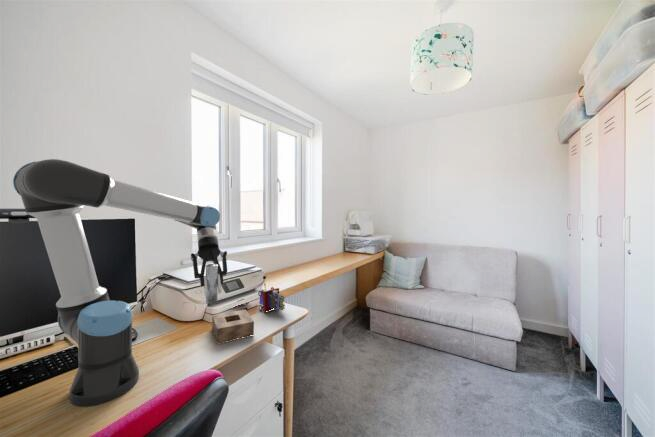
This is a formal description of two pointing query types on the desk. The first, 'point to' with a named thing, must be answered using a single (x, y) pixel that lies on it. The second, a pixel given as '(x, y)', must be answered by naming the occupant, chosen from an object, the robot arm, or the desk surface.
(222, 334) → the walnut socket block
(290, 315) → the desk surface
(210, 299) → the steel pin
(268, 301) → the robot toy
